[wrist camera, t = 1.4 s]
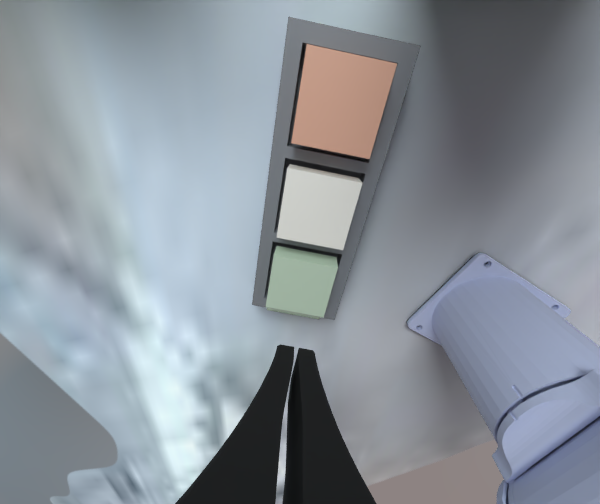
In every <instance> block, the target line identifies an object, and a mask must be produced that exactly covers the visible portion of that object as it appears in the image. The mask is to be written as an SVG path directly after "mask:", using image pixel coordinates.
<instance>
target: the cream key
mask: <svg viewBox="0 0 600 504" xmlns="http://www.w3.org/2000/svg"><path fill="white" fill-rule="evenodd" d="M361 187H362V182H361V180H360V179H359V178H357V177H352V176H347V175H342V174H337V173H332V172H327V171H322V170H317V169H312V168H307V167H302V166H297V165H292V164H290V165H289V166H288V168H287V173H286V180H285V186H284V193H283V199H282V205H281V212H280V218H279V224H278V231H277V237H276V238H281V239H287V240H292V241H297V242H302V243H308V244H313V245H318V246H323V247H328V248H334V249H339V250H343V249H344V245H345V242H346V239H347V235H348V232H349V228H350V225H351V221H352V218H353V214H354V211H355V208H356V204H357V201H358V197H359V194H360V190H361Z"/></svg>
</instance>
